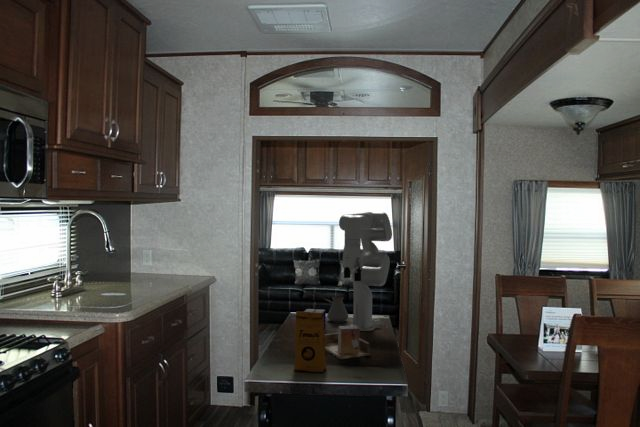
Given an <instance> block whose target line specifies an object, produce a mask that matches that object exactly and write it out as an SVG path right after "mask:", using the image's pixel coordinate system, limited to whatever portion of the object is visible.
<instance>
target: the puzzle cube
mask: <svg viewBox="0 0 640 427" xmlns="http://www.w3.org/2000/svg"><path fill="white" fill-rule="evenodd" d="M303 312H319V313H323V317H324V330H326V329H327V328H326V324H327V323H326V322H327V321H326V318H327V316H326V315H327V312H326V309H316V308H306V309H305V310H304V311H303Z"/></svg>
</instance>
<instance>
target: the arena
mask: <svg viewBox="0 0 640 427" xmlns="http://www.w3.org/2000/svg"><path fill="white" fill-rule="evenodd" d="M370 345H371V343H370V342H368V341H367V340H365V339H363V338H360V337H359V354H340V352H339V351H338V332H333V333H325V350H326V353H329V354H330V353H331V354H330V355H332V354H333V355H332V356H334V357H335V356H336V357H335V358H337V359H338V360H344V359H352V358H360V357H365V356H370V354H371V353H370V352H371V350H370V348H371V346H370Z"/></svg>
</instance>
